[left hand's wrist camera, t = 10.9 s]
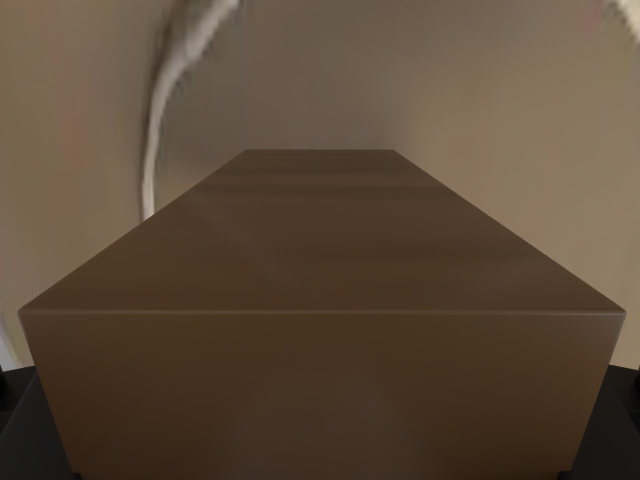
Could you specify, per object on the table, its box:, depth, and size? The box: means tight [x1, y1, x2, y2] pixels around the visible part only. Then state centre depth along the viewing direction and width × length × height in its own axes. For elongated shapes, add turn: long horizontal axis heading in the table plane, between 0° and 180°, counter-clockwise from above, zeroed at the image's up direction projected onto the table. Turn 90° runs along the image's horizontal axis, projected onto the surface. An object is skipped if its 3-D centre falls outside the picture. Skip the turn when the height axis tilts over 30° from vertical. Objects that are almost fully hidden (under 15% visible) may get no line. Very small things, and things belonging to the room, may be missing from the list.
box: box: [18, 150, 626, 480], centre depth 13 cm, size 20×6×13 cm, turn 0°
